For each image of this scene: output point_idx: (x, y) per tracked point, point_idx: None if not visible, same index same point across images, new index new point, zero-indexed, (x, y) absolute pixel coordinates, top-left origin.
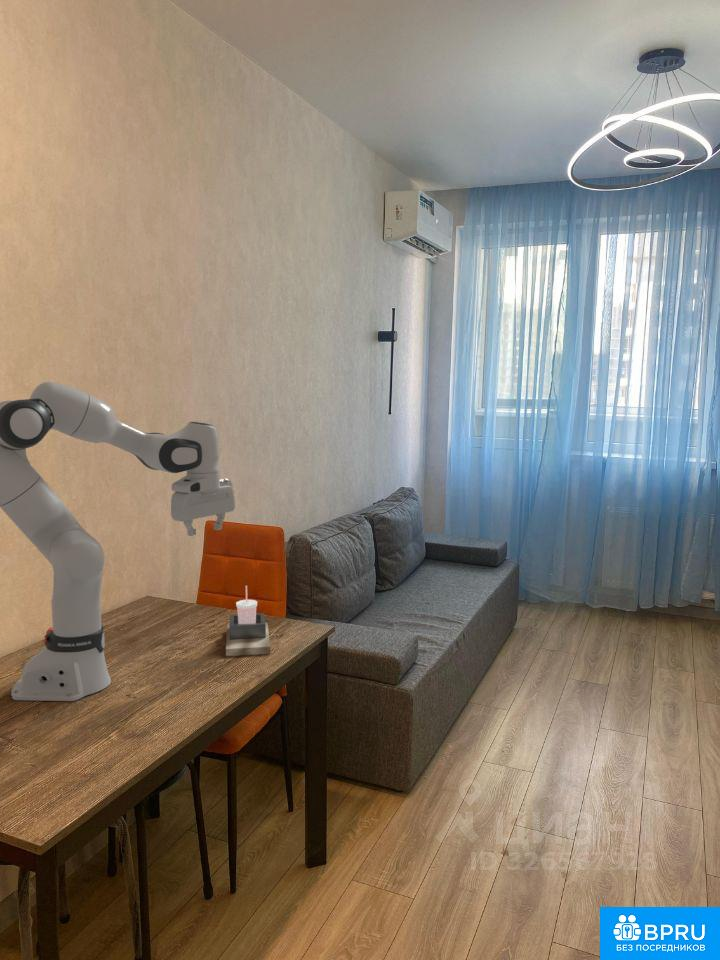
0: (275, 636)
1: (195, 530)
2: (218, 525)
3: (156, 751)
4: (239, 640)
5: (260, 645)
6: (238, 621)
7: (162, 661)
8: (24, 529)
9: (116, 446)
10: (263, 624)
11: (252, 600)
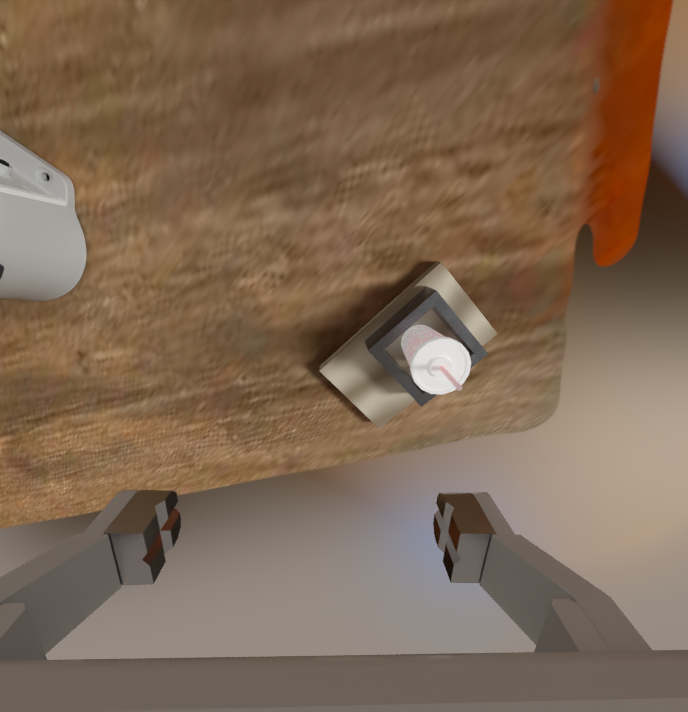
0: None
1: (155, 569)
2: (451, 567)
3: (29, 515)
4: (372, 359)
5: (373, 411)
6: (410, 339)
7: (218, 280)
8: None
9: None
10: (418, 403)
11: (466, 365)
